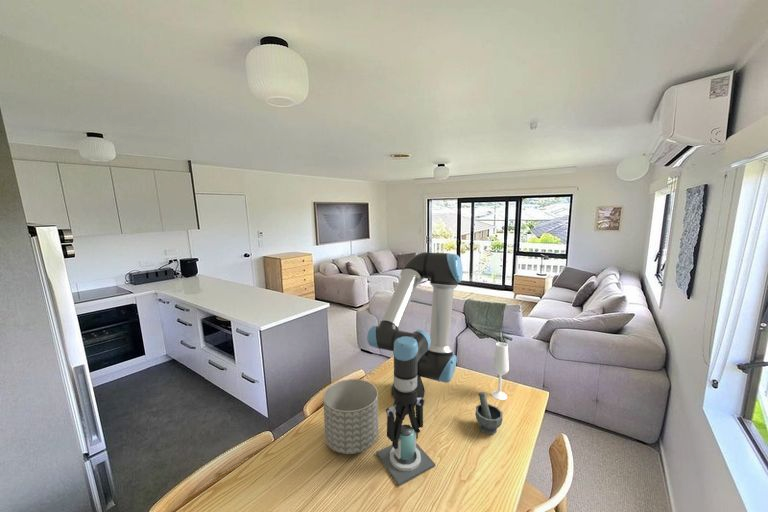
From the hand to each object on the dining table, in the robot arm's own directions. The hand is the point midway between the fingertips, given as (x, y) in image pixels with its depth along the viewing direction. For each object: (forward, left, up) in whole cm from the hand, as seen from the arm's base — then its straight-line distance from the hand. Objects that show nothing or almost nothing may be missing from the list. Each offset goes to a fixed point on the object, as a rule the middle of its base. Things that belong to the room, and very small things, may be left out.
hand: (405, 451), depth 96 cm
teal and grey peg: (0, 0, 0) cm, 0 cm away
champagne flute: (-8, +56, -3) cm, 57 cm away
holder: (0, 0, -3) cm, 3 cm away
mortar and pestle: (+3, +35, -3) cm, 36 cm away
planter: (-17, -12, -3) cm, 21 cm away
